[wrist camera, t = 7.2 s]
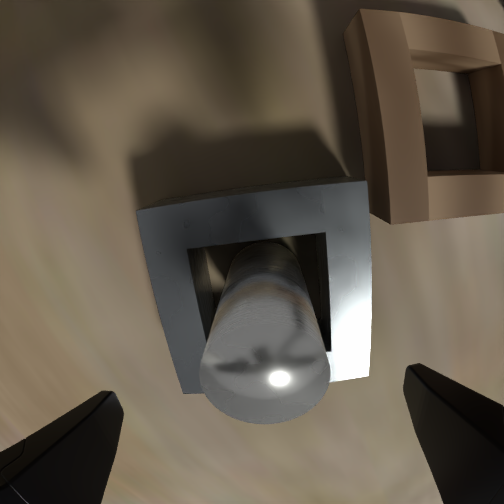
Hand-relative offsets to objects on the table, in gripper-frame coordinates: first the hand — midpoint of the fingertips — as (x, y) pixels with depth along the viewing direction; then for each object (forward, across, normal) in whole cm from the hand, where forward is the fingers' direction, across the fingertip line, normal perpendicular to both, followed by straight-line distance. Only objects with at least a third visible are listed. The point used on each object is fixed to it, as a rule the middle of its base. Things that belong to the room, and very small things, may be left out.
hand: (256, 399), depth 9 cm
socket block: (+10, -11, -8) cm, 17 cm away
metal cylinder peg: (+10, 0, 0) cm, 10 cm away
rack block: (+10, 0, 0) cm, 10 cm away
